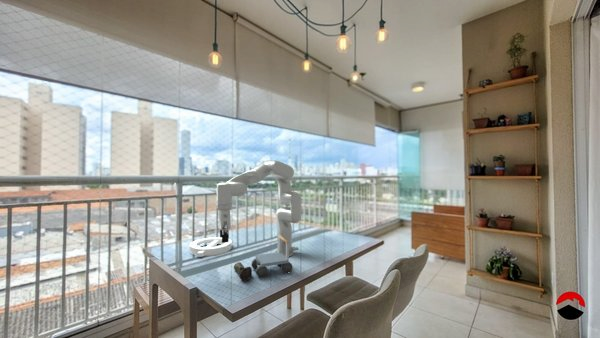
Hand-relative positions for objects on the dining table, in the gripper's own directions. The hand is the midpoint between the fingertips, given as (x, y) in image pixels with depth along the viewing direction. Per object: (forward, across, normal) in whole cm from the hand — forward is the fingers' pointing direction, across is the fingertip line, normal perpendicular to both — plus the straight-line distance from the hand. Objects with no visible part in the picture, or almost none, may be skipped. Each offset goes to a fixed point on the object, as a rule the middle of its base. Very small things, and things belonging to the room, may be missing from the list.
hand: (224, 239), depth 124 cm
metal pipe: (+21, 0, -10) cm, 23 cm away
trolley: (+20, 0, -26) cm, 33 cm away
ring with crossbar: (+21, +52, +3) cm, 56 cm away
